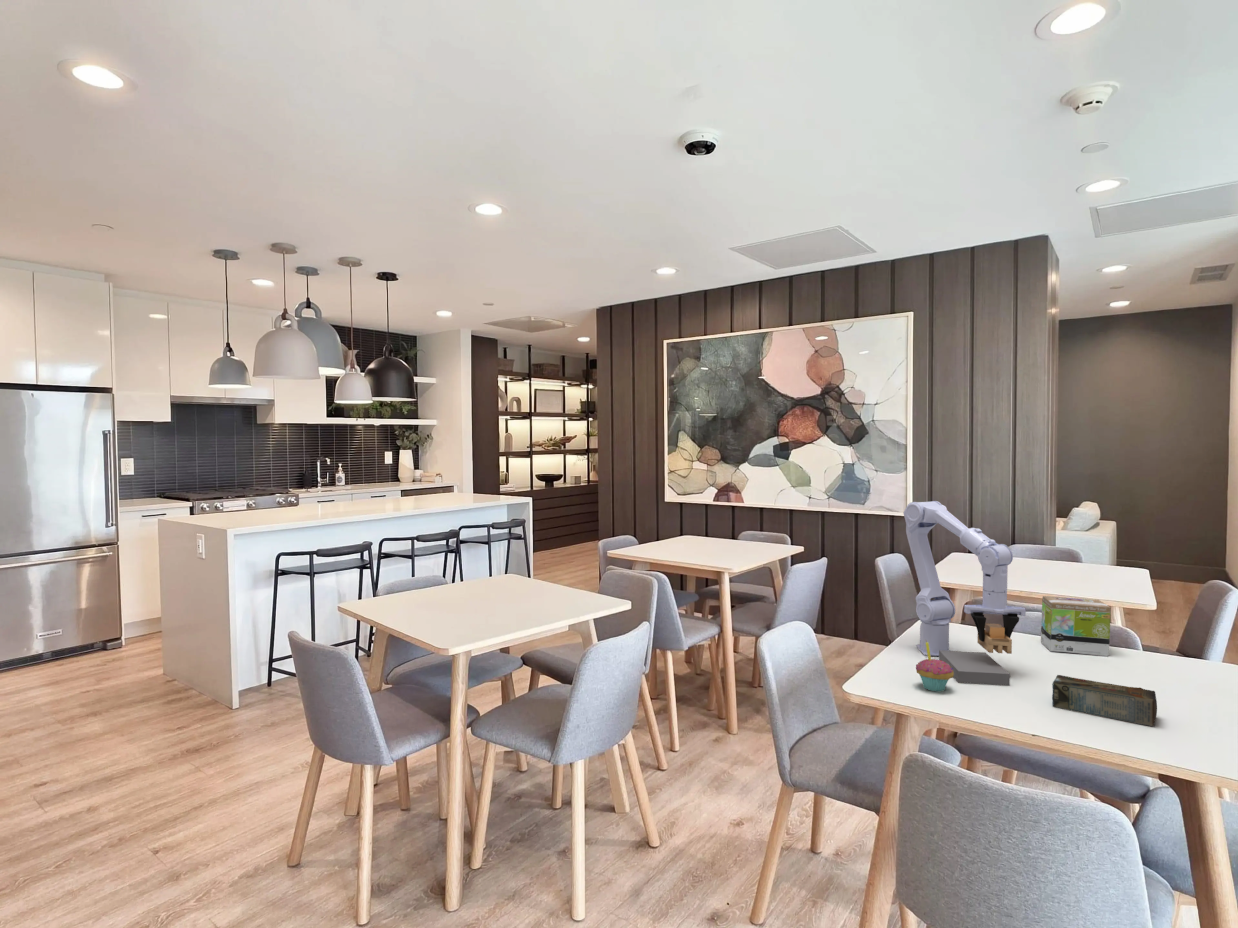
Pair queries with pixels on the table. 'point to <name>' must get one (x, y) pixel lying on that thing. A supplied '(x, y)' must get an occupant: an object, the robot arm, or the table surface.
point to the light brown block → (995, 630)
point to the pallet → (996, 644)
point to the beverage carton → (1105, 700)
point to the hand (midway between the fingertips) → (993, 640)
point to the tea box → (1075, 625)
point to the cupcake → (934, 672)
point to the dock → (975, 668)
